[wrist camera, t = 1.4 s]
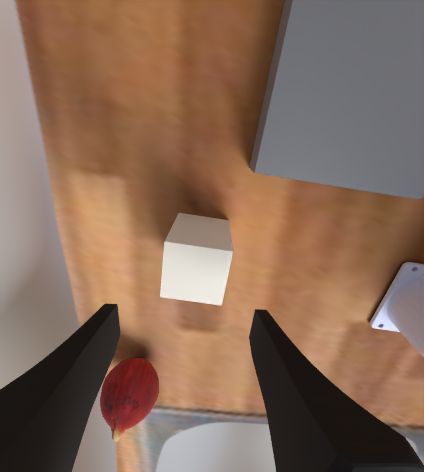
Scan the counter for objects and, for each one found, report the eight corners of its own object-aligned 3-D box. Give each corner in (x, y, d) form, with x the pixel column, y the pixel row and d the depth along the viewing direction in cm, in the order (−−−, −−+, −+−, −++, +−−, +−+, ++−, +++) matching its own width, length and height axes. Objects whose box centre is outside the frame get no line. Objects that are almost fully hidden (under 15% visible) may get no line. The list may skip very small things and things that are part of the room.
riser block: (481, -1, 14) (544, -33, 12) (391, 190, 19) (420, 200, 16) (292, -39, 14) (311, -82, 11) (249, 167, 19) (254, 172, 16)
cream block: (229, 220, 21) (233, 251, 15) (220, 263, 22) (221, 305, 17) (178, 212, 20) (164, 241, 15) (174, 256, 22) (160, 296, 17)
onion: (107, 349, 27) (68, 427, 20) (150, 336, 26) (124, 413, 19) (133, 379, 30) (105, 460, 22) (173, 368, 29) (158, 449, 21)
